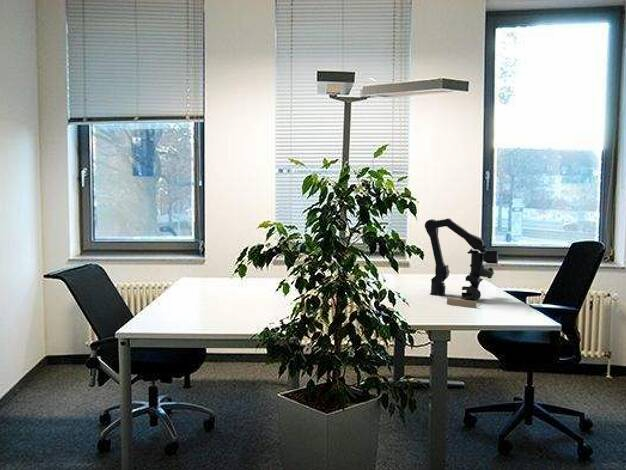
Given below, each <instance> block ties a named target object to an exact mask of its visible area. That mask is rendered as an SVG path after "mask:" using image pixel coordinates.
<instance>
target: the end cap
mask: <svg viewBox="0 0 626 470" xmlns="http://www.w3.org/2000/svg"><path fill="white" fill-rule="evenodd" d="M461 290H462V291H463V292H461V300H469V301H477V302H478V300H480V298H481V295H482V294H481V291H480V290H479V288H478V289H476V288H475V287H473V286H471V284H470V285H469V286H461ZM464 291H465V292H464Z"/></svg>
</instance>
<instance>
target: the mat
mask: <svg viewBox="0 0 626 470" xmlns="http://www.w3.org/2000/svg"><path fill="white" fill-rule="evenodd" d="M484 303H485V302H482V301H478V300H477V301H469V300H463V299H462V298H461V299H459V298H452V297H447V298H446V305H450V306H457V307H458V306H459V307H465V308H473V309H477V308H478V307H480V306H482V305H483V304H484Z"/></svg>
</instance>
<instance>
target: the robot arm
mask: <svg viewBox="0 0 626 470" xmlns="http://www.w3.org/2000/svg"><path fill="white" fill-rule="evenodd" d="M444 227H446V228H448V229H450V230H451V231H452V232H454V233H455V234H456V235H457V236H459V237H461V238H462V239H463V240H464V241H466V243H467V244H468V245H469V246H470V247H471V248H470V249H469V251H467V254H468V255H469V254H470V258H471V260H470V264H469V267H470V271H469V274H467V275H466V276H465V282H469V284H470V285H471V286H473V287H475V288H476V289H478V290H479V288H480V287H479V286H480V283H481V282H482V281H483V280H484V278H487V279H492V278H493V276H494V274H495V272H494V268H492V267H489V268H486V267H485V265H484V264H483V262H484V263H485V264H489V265H490V264H491V265H492V264H494V265H498V264H499V251H498V250H497V249H494V250H490V249H489V250H488V248H487V247H486V246H485V241H484V240H483V238H481V237H479V236H477V235H475V234H473V233H470V232H469V231H468V230H466V229H465V228H463V227H462V226H460V225H459V224H457V223H456V222H454V221H453V220H452V219H451V218H449V217H448V218H444V219H437V220H436V219H428V220H426V222H425V223H424V228H425V231H426V234H427V235H428V237H429V238H430V245H431V248H432V253H433V258H434V261H435V262H434V263H435V269H434V271H435V273H434V275H435V276H433V277H432V278H431V279H430V282H431V283H430V284H431V285H430V286H431V287H430V293H429V295H432V296H444V295H445V294H446V284H445V280H447V279H448V277H449V276H450V273H451V271H450V269H449V264H445V262H444V256H443V253H442V249H441V243H440V238H439V228H444ZM482 277H483V278H482Z"/></svg>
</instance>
